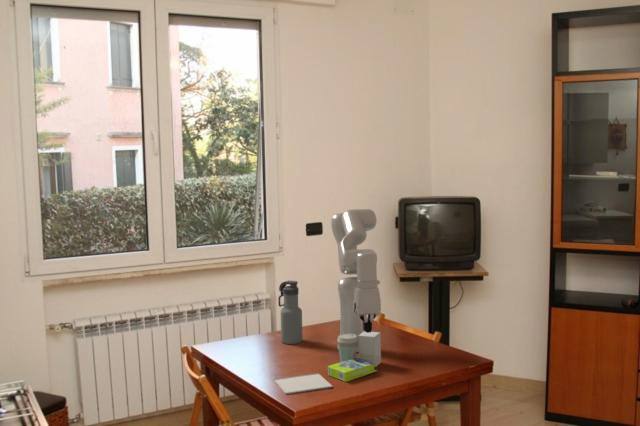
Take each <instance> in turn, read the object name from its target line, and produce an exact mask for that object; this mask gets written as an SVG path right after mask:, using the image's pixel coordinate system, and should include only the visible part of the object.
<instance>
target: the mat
mask: <svg viewBox="0 0 640 426" xmlns="http://www.w3.org/2000/svg"><path fill="white" fill-rule="evenodd" d="M273 381H274V382H275V383H276V385H277V386H278V387H279V388H280V389H281V390H282V391H283V393H285V395H286V396H287V395H294V394H300V393H308V392H314V391H321V390H322V391H323V390H327V389H333V388H334V386H333V385H332V384H331V383H330V382H329V381H327V380H326V379H325V378H324V377H323V376H322V375H321V374H320V373H319V372H315V373H309V374H302V375H295V376H288V377H279V378H274V379H273Z"/></svg>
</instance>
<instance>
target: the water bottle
mask: <svg viewBox="0 0 640 426" xmlns="http://www.w3.org/2000/svg"><path fill="white" fill-rule="evenodd" d="M287 285H288V286H287ZM278 291H279V292H280V295H279V296H278V297H277V298H278V307H282V308H281V309H280V341H281V342H282V343H283V344H286V345H297V344H300V343H302V341H303V311H302V308H301V307H299V287H298V281H297V280H290V279H288V280H286V281H283V282H281V283H280V284H279V287H278ZM281 297H283V304H281Z"/></svg>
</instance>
